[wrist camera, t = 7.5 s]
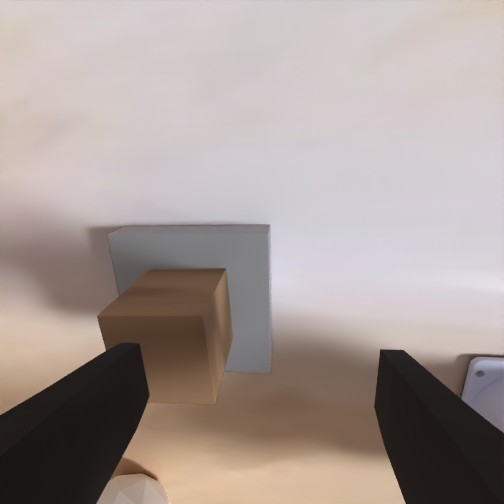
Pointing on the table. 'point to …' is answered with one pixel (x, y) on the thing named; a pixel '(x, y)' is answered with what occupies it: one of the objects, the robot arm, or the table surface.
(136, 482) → the geometric ball
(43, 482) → the robot arm
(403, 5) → the table surface
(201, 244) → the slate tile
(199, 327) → the walnut block
